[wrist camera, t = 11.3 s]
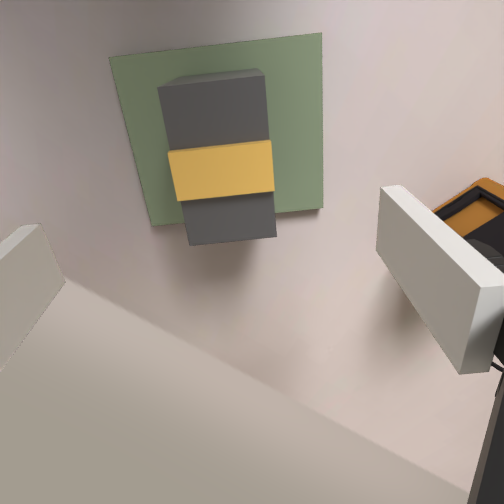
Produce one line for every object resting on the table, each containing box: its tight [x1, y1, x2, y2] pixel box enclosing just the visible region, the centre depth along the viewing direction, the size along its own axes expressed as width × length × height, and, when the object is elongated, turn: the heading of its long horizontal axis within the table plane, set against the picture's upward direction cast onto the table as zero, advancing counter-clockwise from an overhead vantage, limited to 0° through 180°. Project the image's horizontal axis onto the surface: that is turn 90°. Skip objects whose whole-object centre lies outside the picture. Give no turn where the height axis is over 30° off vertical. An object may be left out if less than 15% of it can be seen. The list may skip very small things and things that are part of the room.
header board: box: [109, 33, 323, 226], centre depth 30 cm, size 14×16×5 cm
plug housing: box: [157, 68, 277, 246], centre depth 26 cm, size 10×6×10 cm, turn 6°
